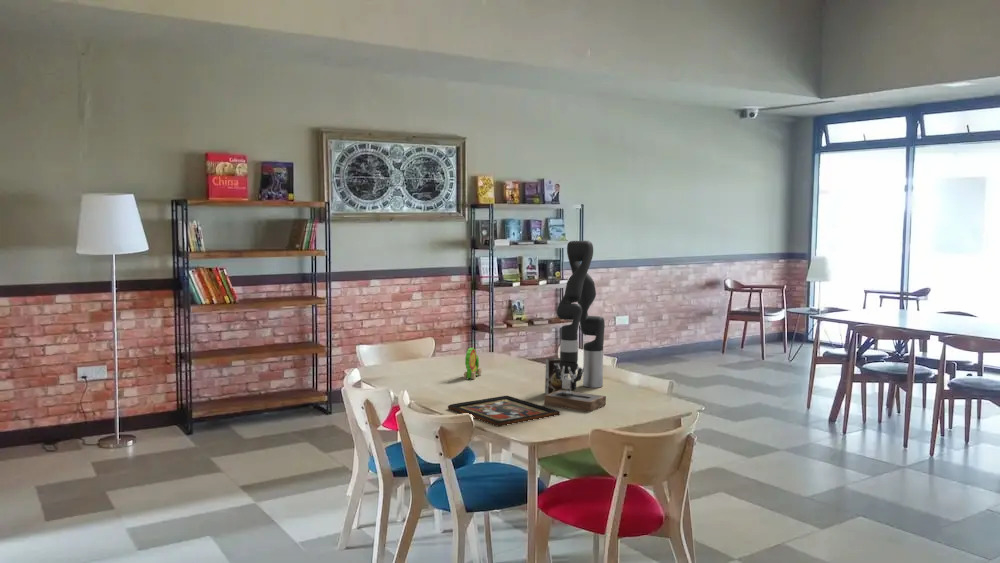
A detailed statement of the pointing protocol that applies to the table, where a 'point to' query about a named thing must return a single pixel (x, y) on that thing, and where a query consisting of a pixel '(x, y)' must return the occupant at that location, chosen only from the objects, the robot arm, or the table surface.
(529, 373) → the table surface
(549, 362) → the coffee box
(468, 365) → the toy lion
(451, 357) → the table surface
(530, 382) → the table surface
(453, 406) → the framed painting
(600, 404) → the keyhole box
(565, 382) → the keyhole stud
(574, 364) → the robot arm
